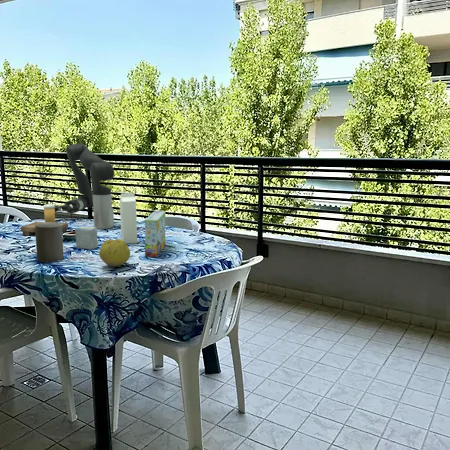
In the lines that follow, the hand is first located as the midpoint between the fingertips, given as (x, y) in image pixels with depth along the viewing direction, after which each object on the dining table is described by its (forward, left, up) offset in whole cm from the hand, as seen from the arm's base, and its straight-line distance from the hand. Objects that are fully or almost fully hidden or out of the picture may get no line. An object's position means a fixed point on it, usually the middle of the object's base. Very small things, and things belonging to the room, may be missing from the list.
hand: (60, 210), depth 243 cm
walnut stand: (-5, +25, -7) cm, 27 cm away
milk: (-51, +35, -7) cm, 62 cm away
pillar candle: (-31, +67, -7) cm, 74 cm away
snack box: (-67, +47, -7) cm, 82 cm away
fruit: (-59, +72, -7) cm, 94 cm away
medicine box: (-37, +48, -7) cm, 61 cm away
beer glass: (0, +11, -7) cm, 13 cm away
